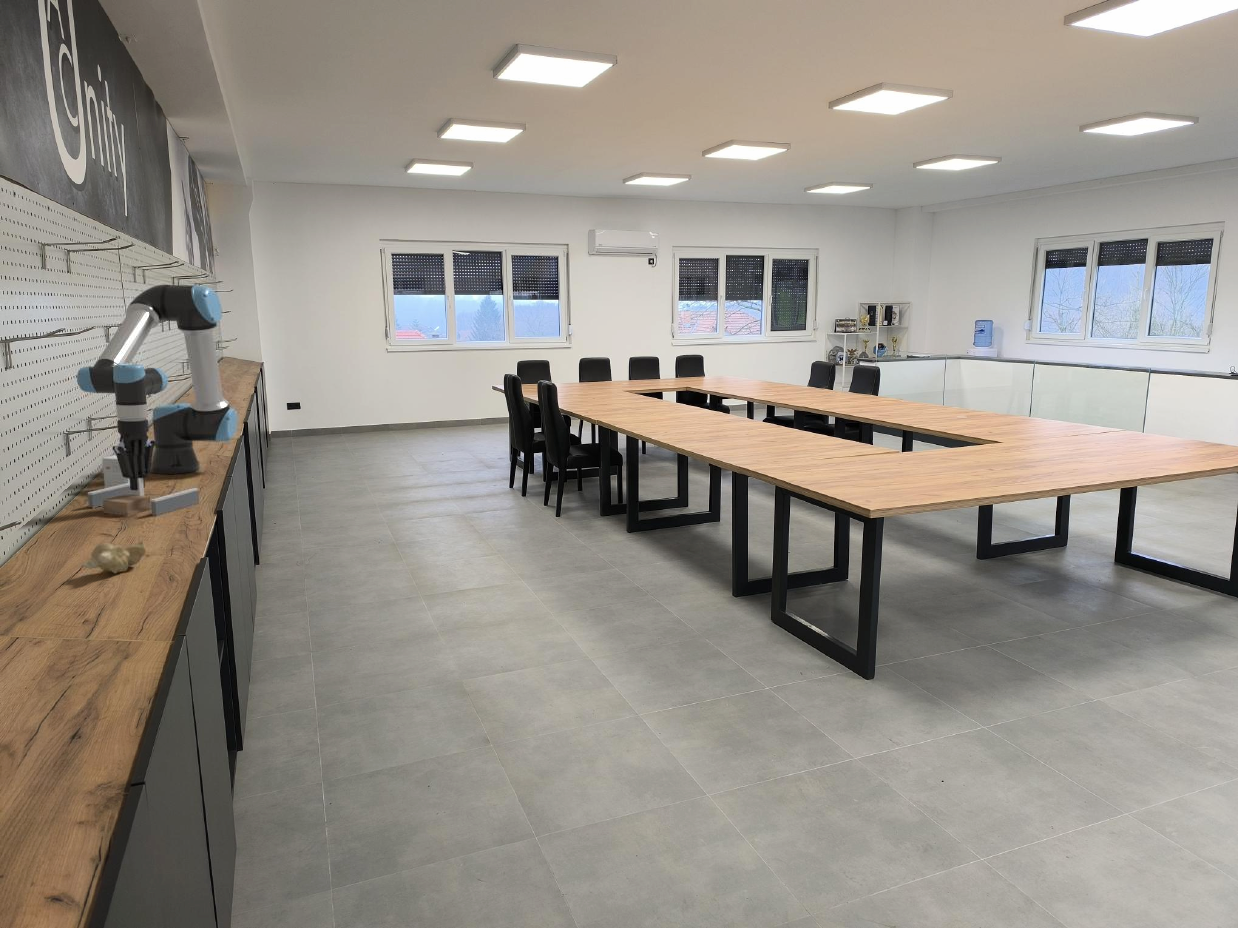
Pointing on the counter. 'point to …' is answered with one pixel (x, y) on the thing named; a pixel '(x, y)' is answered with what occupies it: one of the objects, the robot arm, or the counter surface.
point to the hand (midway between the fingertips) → (138, 500)
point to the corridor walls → (157, 504)
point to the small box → (113, 472)
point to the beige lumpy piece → (115, 557)
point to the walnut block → (126, 504)
